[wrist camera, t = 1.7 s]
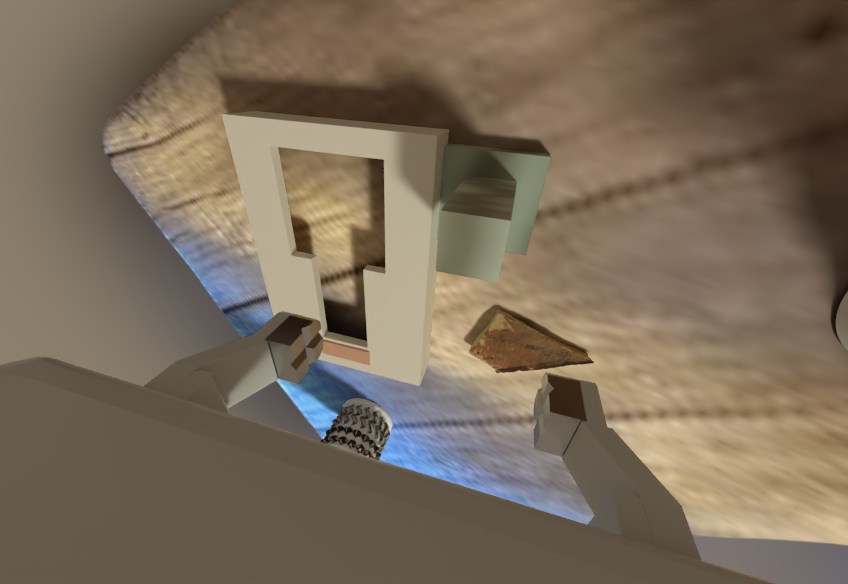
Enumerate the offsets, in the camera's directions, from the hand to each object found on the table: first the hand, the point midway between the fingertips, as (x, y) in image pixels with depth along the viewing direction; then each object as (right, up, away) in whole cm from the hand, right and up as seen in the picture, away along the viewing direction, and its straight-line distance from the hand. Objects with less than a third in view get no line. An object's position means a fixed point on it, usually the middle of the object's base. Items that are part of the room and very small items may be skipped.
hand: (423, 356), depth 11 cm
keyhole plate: (-7, +6, +23) cm, 25 cm away
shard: (+11, -2, +23) cm, 26 cm away
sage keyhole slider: (+6, +10, +16) cm, 20 cm away
